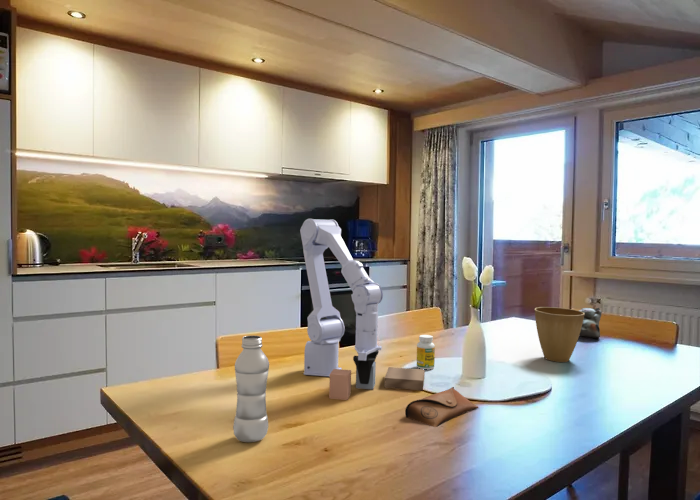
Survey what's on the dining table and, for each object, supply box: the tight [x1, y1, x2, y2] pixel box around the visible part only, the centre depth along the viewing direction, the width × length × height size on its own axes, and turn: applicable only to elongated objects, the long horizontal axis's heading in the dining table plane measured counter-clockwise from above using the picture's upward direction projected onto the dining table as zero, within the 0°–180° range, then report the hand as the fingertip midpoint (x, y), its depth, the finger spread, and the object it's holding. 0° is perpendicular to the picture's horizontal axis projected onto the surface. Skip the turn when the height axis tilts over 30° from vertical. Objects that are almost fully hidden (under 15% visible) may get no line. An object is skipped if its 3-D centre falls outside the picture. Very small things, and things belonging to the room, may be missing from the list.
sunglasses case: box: [404, 386, 480, 428], centre depth 110 cm, size 18×7×7 cm, turn 135°
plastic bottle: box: [232, 335, 270, 443], centre depth 94 cm, size 6×7×20 cm
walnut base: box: [383, 366, 426, 391], centre depth 130 cm, size 10×10×3 cm
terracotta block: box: [328, 369, 352, 401], centre depth 119 cm, size 4×4×6 cm
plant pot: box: [534, 306, 584, 363], centre depth 157 cm, size 15×15×16 cm
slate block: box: [355, 361, 377, 390], centre depth 127 cm, size 4×4×6 cm
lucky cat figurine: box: [578, 307, 603, 340], centre depth 193 cm, size 15×12×14 cm
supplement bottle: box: [416, 334, 436, 371], centre depth 145 cm, size 5×5×10 cm
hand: (365, 380), depth 127 cm, fingers closed on slate block, 4 cm apart
